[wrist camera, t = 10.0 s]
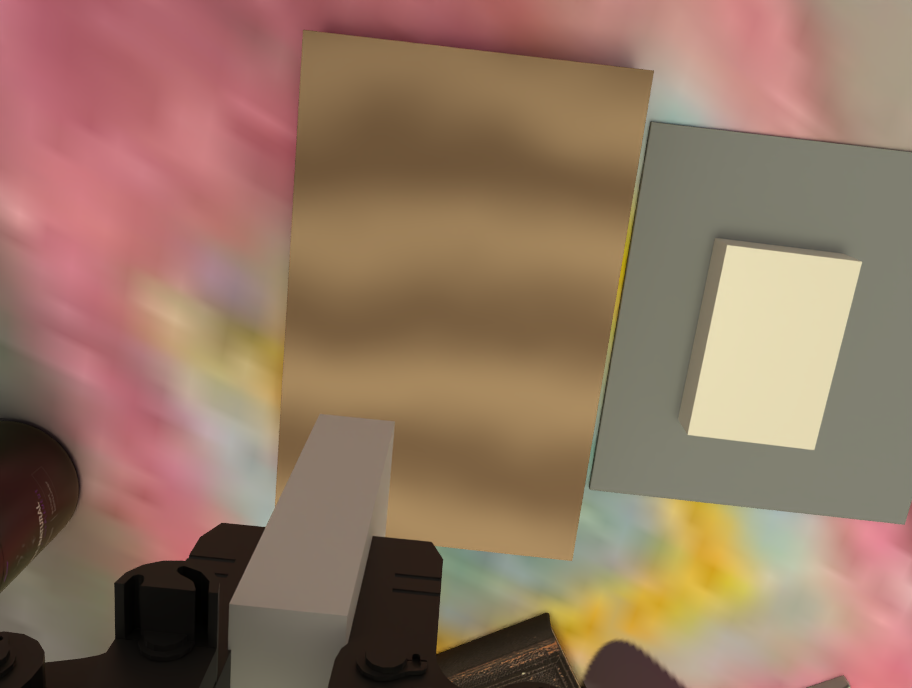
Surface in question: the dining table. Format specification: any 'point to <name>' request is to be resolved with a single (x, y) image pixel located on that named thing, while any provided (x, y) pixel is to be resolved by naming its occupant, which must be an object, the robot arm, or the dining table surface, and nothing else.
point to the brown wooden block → (459, 275)
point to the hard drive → (833, 683)
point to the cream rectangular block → (767, 343)
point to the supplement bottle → (31, 495)
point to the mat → (679, 302)
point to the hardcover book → (510, 658)
